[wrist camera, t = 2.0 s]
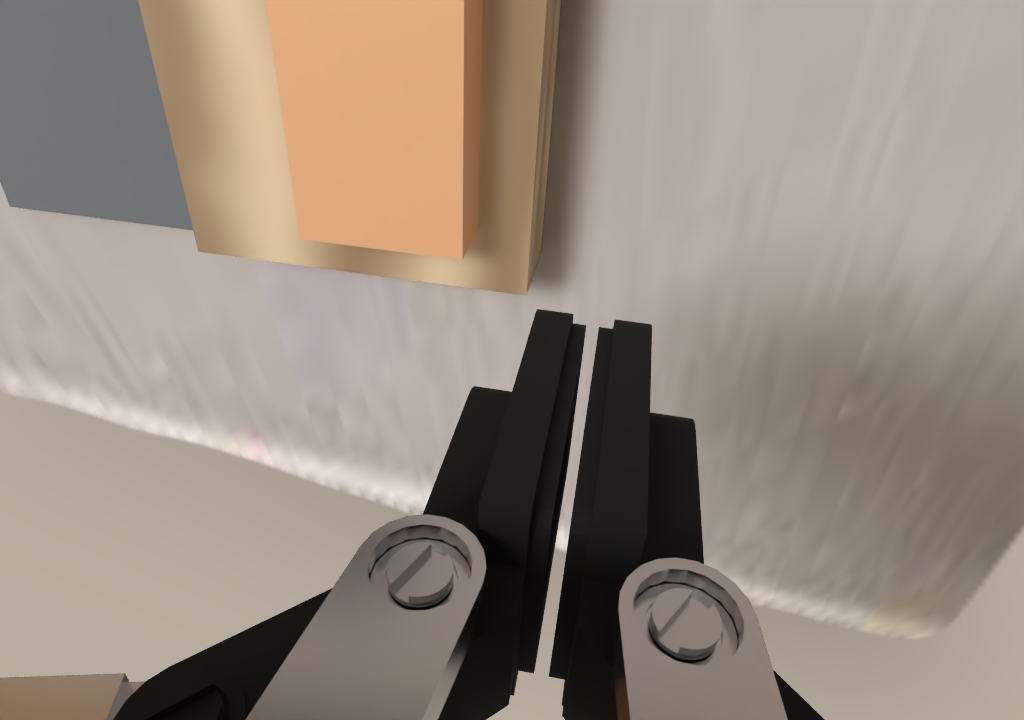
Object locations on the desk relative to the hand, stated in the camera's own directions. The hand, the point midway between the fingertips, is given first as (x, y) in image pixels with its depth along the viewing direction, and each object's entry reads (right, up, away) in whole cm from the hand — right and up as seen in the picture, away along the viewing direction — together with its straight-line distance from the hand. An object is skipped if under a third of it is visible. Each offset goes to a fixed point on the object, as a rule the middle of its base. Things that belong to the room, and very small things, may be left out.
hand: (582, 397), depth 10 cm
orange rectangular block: (-5, +10, +13) cm, 17 cm away
